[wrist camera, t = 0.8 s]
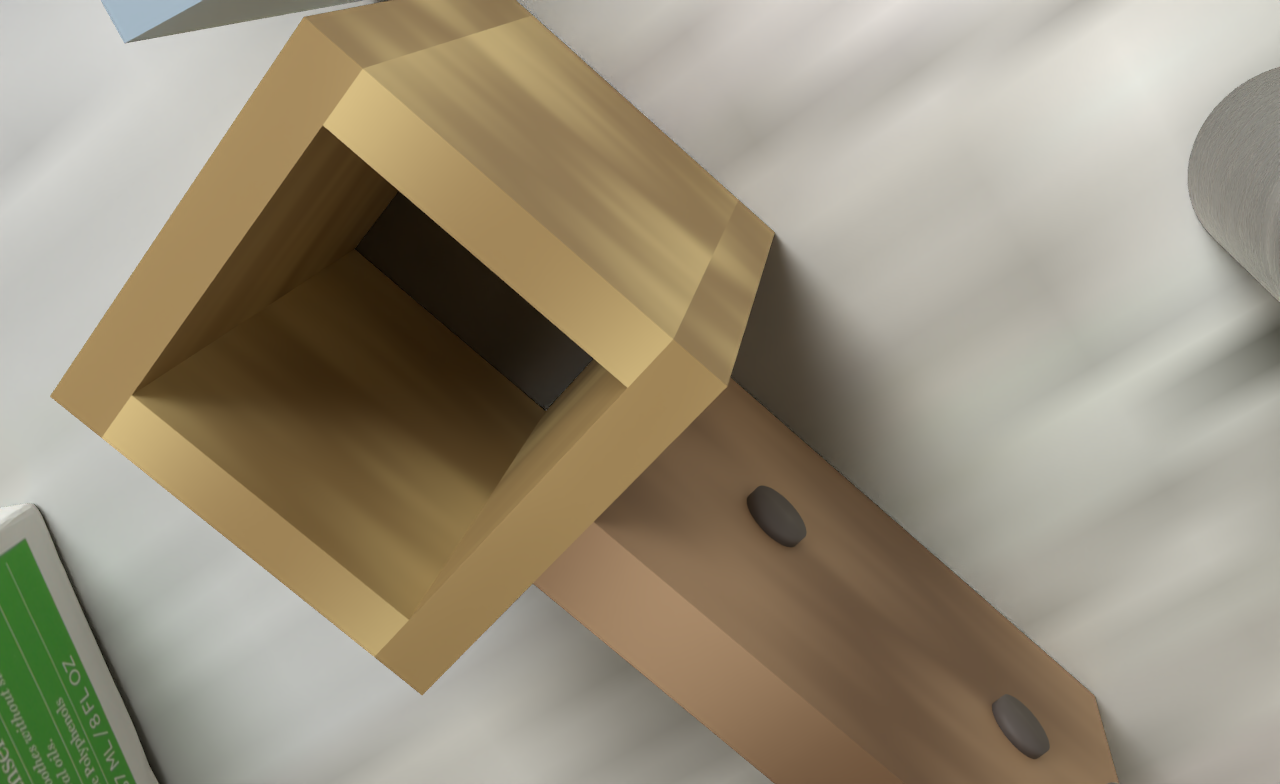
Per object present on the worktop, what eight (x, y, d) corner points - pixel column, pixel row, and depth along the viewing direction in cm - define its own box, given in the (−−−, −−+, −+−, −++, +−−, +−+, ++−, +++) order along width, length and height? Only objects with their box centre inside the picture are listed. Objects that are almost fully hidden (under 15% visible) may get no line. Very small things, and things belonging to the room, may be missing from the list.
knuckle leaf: (1202, 616, 21) (1346, 926, 15) (948, 802, 23) (976, 1140, 17) (493, -20, 19) (304, 17, 13) (295, 251, 22) (50, 396, 15)
